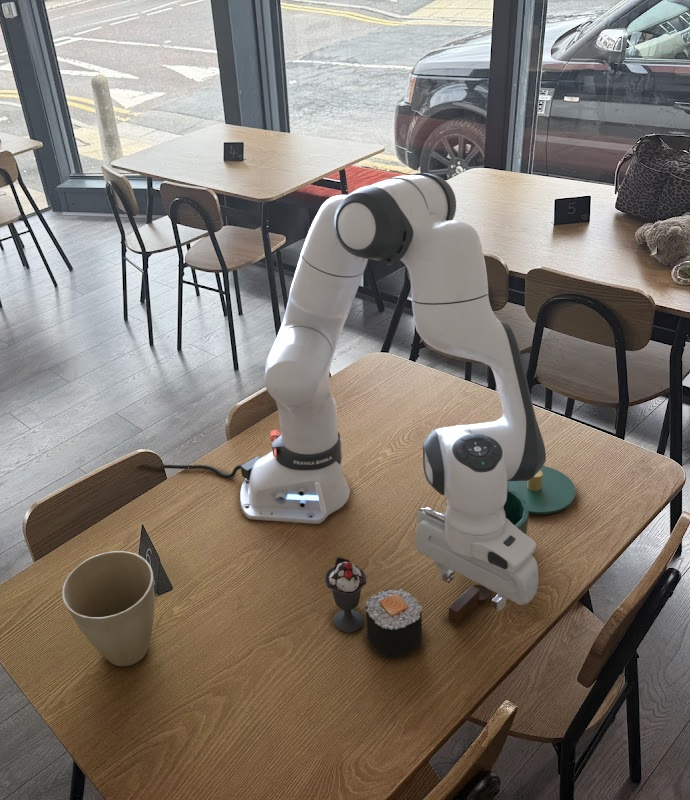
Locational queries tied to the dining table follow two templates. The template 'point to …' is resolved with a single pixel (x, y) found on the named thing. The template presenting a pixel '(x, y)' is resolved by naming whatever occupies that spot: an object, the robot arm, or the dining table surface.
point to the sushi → (394, 623)
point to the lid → (545, 491)
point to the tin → (516, 510)
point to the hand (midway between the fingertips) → (472, 592)
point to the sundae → (346, 593)
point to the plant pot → (113, 604)
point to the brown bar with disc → (468, 602)
